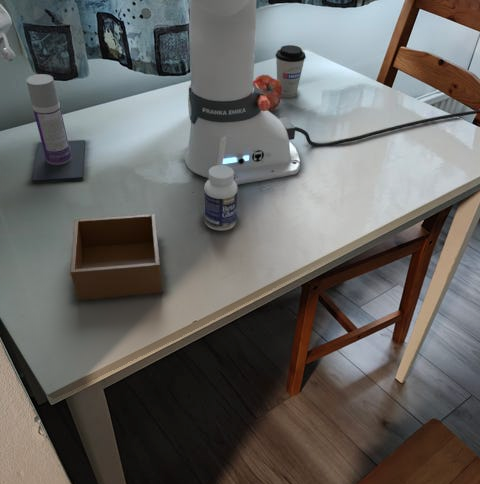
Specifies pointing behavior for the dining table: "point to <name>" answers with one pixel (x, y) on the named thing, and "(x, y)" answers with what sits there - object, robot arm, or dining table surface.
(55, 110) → the container
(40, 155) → the pad
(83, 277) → the wooden tray
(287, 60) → the coffee cup
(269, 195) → the dining table surface
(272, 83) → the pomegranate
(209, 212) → the pill bottle
